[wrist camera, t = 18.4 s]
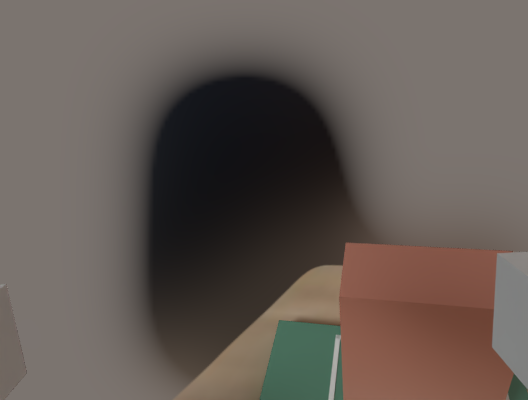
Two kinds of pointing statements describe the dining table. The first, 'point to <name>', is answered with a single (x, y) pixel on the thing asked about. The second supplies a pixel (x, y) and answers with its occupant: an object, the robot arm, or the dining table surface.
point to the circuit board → (317, 365)
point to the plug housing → (419, 324)
